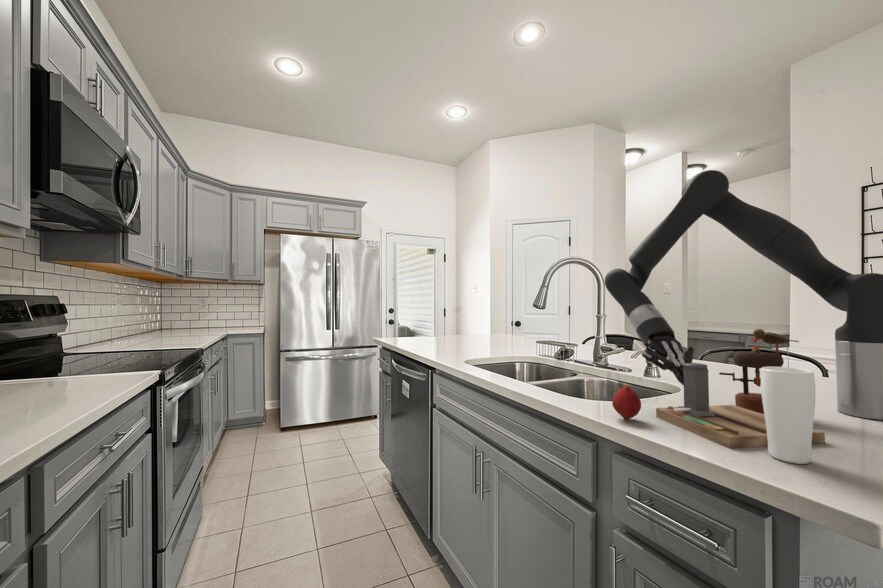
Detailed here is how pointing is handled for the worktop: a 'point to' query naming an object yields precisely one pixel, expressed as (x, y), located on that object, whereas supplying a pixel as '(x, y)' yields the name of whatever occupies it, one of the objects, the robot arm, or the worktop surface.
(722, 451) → the worktop surface
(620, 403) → the onion
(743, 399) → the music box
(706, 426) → the board
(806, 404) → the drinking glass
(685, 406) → the peg slider
